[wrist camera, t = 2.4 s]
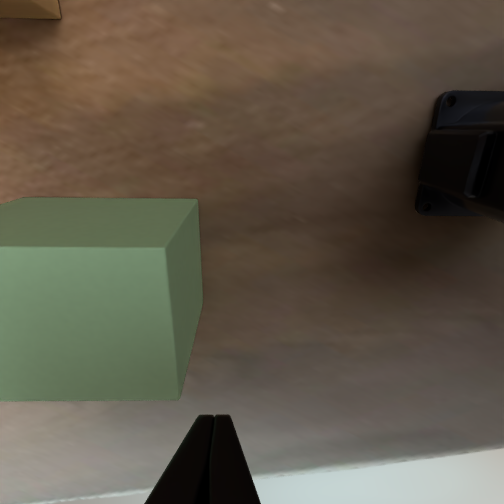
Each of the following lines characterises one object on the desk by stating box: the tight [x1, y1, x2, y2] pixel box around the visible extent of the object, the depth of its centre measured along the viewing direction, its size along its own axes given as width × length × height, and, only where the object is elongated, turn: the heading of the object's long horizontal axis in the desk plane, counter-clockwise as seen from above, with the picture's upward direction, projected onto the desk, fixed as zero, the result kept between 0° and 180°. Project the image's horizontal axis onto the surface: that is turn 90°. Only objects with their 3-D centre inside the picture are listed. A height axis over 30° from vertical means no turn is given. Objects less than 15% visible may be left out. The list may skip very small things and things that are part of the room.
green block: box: [0, 197, 203, 401], centre depth 15 cm, size 10×7×8 cm
